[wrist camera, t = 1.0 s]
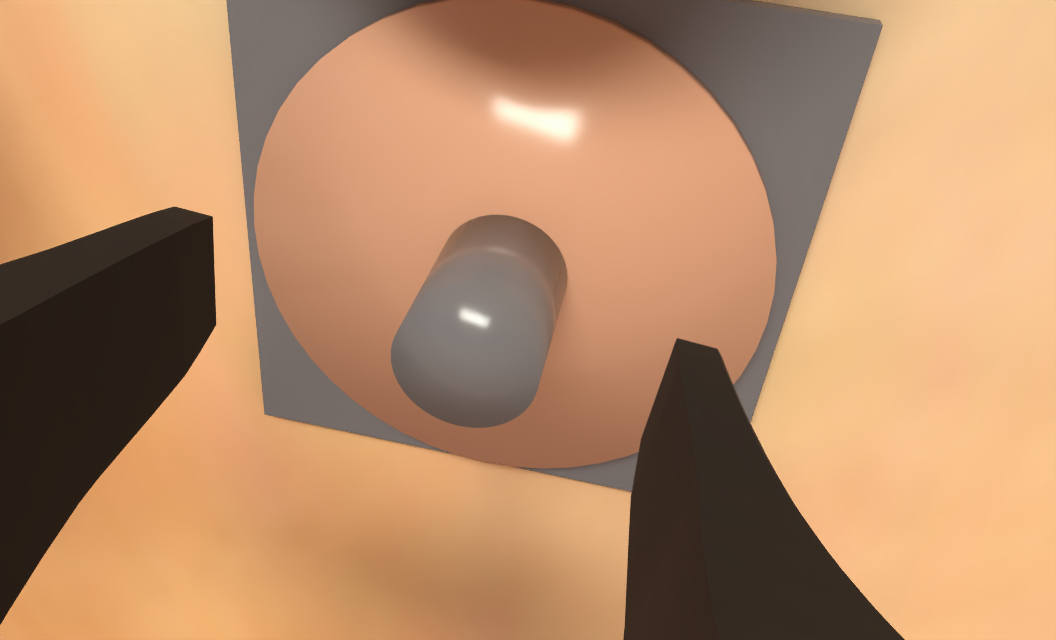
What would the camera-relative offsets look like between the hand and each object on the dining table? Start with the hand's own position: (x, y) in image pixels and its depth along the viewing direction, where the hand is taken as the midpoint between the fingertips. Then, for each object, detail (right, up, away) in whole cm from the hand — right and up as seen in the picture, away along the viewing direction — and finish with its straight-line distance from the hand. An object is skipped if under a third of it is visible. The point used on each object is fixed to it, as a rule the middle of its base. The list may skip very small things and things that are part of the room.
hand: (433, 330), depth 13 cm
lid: (+1, +2, +9) cm, 9 cm away
